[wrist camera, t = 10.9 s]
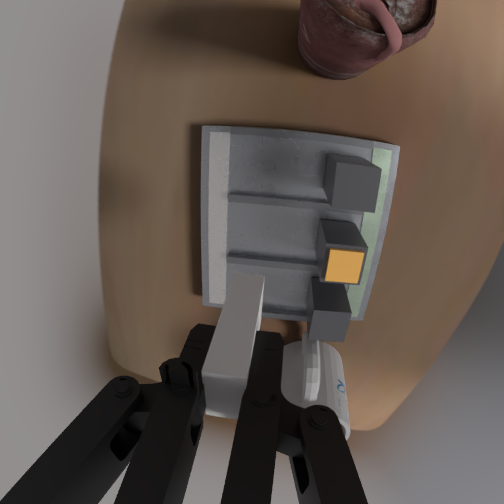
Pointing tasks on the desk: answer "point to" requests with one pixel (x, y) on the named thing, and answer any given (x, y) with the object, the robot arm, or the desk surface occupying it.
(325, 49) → the can
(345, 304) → the breaker
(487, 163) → the desk surface
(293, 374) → the mug
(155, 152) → the desk surface
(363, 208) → the block
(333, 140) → the panel
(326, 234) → the block
